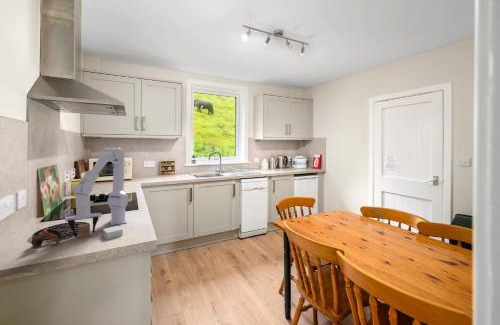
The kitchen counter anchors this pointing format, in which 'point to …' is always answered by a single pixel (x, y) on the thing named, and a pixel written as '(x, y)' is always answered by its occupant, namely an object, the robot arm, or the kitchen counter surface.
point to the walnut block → (84, 230)
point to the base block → (112, 232)
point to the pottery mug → (46, 233)
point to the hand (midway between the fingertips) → (84, 233)
